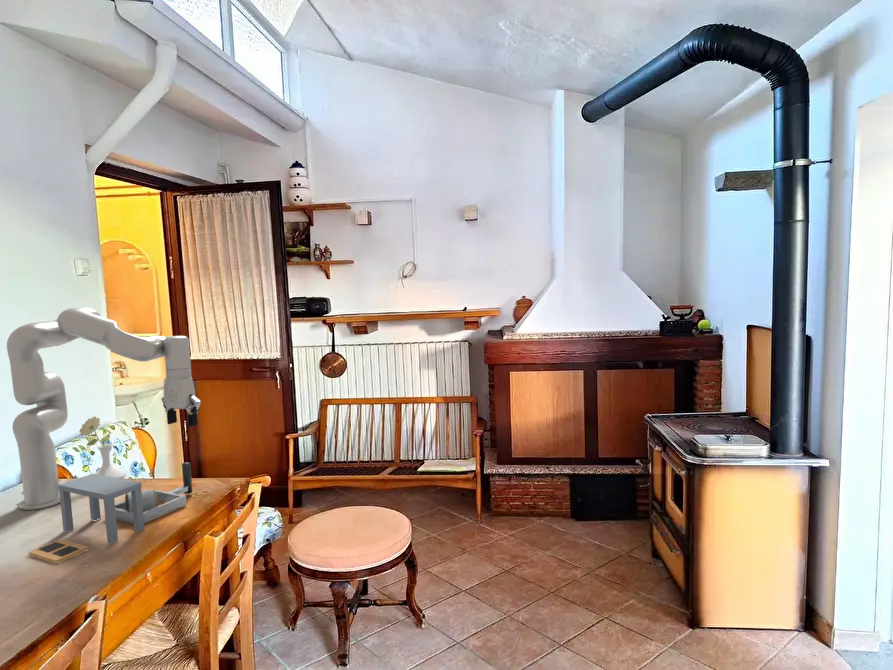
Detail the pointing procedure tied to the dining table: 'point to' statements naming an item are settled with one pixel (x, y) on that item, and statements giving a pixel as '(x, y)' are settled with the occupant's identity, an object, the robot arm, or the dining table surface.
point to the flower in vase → (101, 449)
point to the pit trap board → (58, 551)
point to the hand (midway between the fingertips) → (182, 424)
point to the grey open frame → (171, 499)
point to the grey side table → (106, 491)
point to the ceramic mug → (143, 500)
